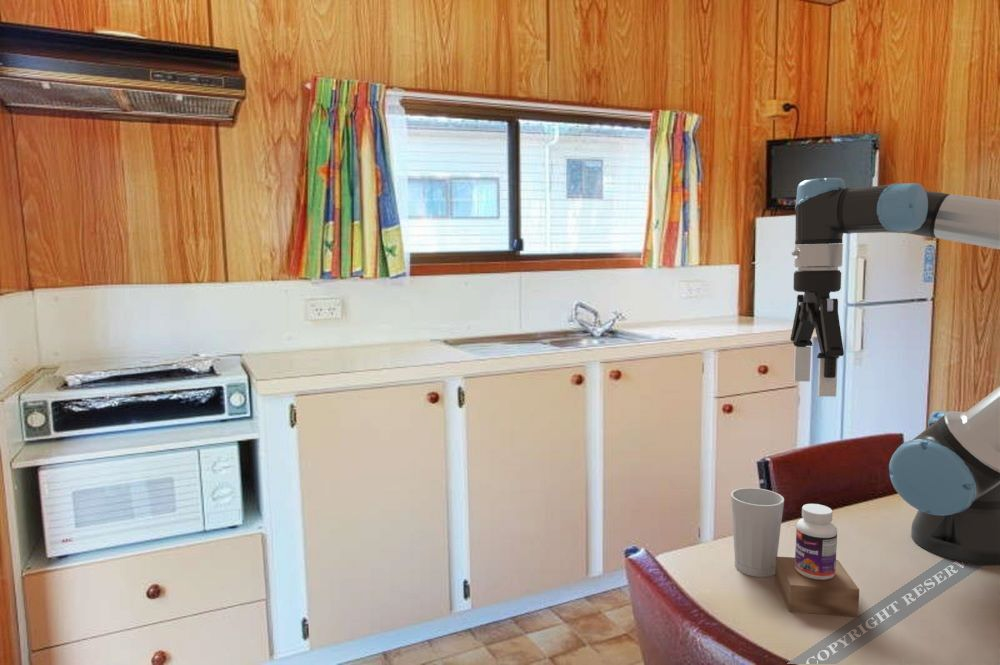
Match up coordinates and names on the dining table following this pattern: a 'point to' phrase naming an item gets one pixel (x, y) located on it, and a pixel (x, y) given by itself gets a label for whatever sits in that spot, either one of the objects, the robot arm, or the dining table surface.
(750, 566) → the cup
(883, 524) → the dining table surface
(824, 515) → the pill bottle
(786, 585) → the base
